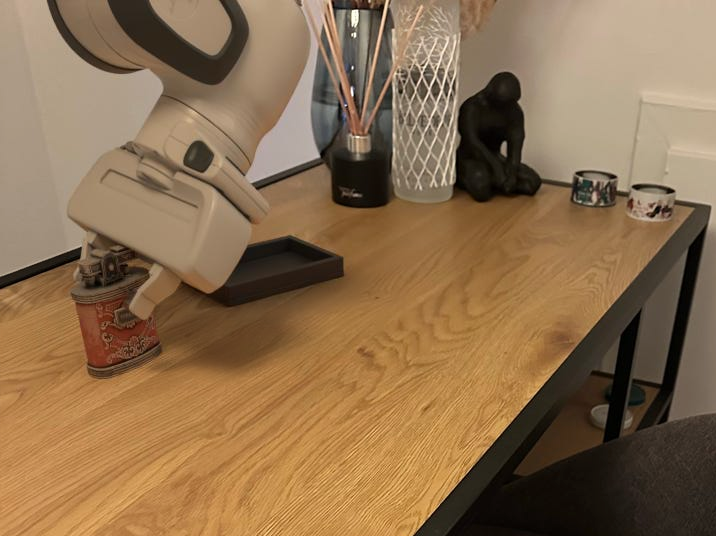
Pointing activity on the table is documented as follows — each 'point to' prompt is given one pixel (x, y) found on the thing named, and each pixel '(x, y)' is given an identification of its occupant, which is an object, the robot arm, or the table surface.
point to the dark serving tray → (277, 270)
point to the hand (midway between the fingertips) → (107, 299)
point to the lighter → (113, 313)
